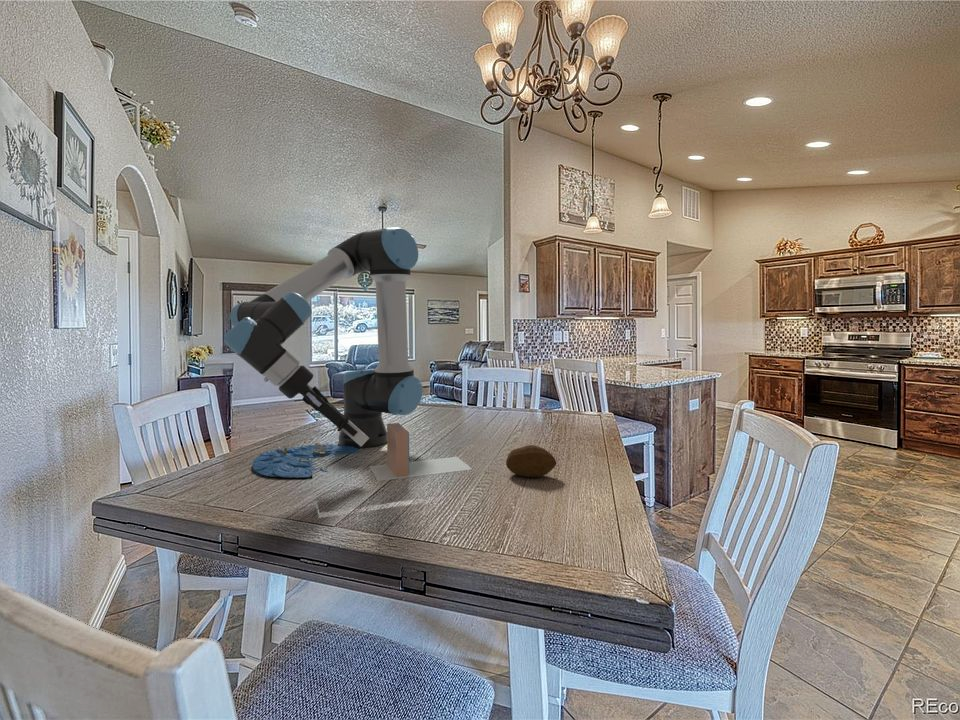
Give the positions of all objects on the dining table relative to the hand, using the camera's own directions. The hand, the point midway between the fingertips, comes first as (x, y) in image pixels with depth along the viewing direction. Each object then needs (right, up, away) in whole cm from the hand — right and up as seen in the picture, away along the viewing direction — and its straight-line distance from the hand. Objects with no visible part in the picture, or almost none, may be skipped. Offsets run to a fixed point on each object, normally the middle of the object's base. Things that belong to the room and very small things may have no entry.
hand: (364, 441), depth 115 cm
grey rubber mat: (+13, -9, +7) cm, 17 cm away
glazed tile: (+7, -8, +4) cm, 12 cm away
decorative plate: (-18, -9, +14) cm, 24 cm away
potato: (+41, -9, +3) cm, 42 cm away
